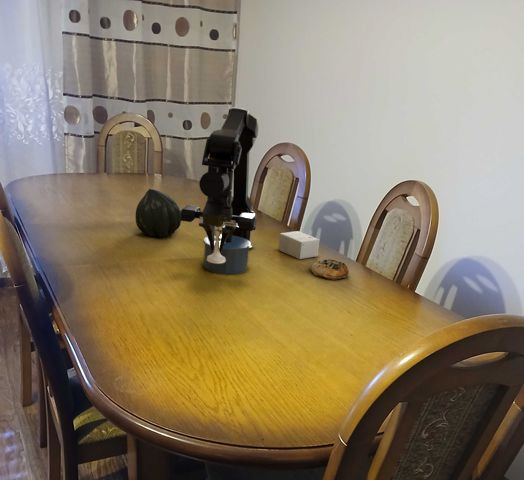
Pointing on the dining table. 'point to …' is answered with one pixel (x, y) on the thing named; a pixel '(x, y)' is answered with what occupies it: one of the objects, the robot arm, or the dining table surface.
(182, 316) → the dining table surface
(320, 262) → the bread roll
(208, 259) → the chess piece
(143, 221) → the squash
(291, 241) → the small box
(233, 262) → the pot
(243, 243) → the pot lid
